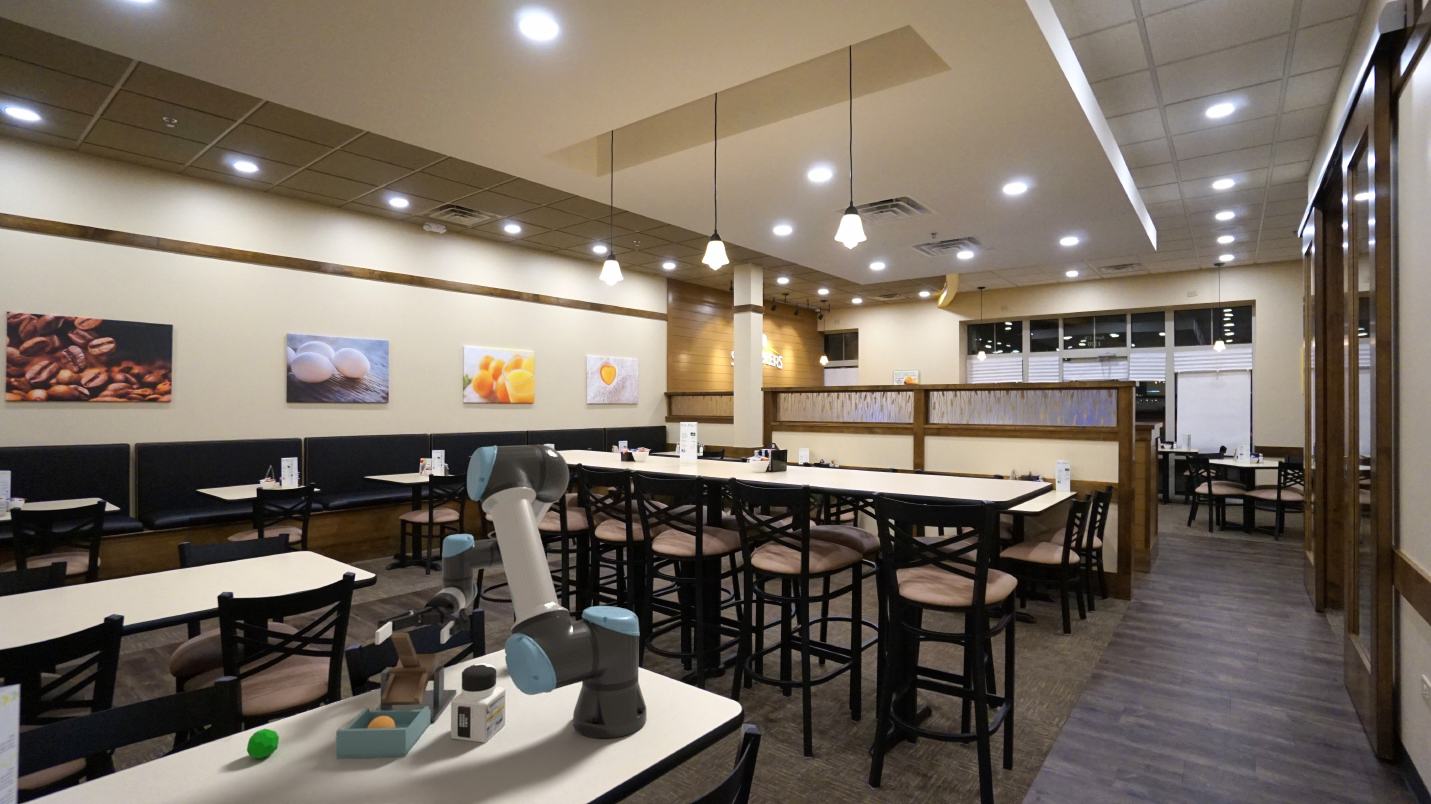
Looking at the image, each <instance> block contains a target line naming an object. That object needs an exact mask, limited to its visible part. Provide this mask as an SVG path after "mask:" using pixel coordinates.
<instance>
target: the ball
mask: <svg viewBox="0 0 1431 804" xmlns="http://www.w3.org/2000/svg"><path fill="white" fill-rule="evenodd" d="M368 728H395V723H394V721H393V719H392V718H390V717H388V716H379V717H377V718H375V719H374V720H372V721H371V723H370V724H369V726H368Z"/></svg>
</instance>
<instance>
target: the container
mask: <svg viewBox="0 0 1431 804" xmlns="http://www.w3.org/2000/svg"><path fill="white" fill-rule="evenodd" d="M505 725H506V688H505V687H501V686H499V687H498V686H497V668H496V667H495V666H494V665H492V664H489V663H483V662H482V663H476V664H472V665H470V666H468V667H466V668H464V670H463V671H462V672H461V692H460V693H459V694H458V695H457V696H455V697H454V698H453V699H452V700H451V702H450V739H452V740H453V739H454V740H458V741H459V740H460V741H467V742H477V743H487V742H488V741H489V740H490V739H491V738H492V737H493V736H494V735H495V734H496V733H498V731H500V730H501V729H502V728H503V727H504V726H505Z"/></svg>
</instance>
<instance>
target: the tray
mask: <svg viewBox="0 0 1431 804" xmlns="http://www.w3.org/2000/svg"><path fill="white" fill-rule="evenodd" d="M379 716H388V717H390V718H392V719H393V721H394V723H395V728H368V726H369V724H370V723H371V721H372V720H374V719H375V718H377V717H379ZM430 725H431V723H430V709H429V706H425V707H424V708H423V709H422V710H375V709H374V710H371V707H370V706H369V707H365V708H364V709H362V711H360V712H359V713H358V714H357V716H356V717H354V718H353V720H351V721H350V723H348V725H346V727H344V728H337V730H336V735H335V758H336V759H353V758H354V759H355V758H356V759H358V758H391V757H392V758H395V757H396V758H397V757H399V758H400V757H402V758H403V757H406V756H407V755H408V754H409V752H410V751H411V750H412V749H413V747H414V746H415V745H416V744H417V741H419V740H420V738H421V737H422V736H423V734H424V733H425V732H426V730H427V729H428V727H430Z"/></svg>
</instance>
